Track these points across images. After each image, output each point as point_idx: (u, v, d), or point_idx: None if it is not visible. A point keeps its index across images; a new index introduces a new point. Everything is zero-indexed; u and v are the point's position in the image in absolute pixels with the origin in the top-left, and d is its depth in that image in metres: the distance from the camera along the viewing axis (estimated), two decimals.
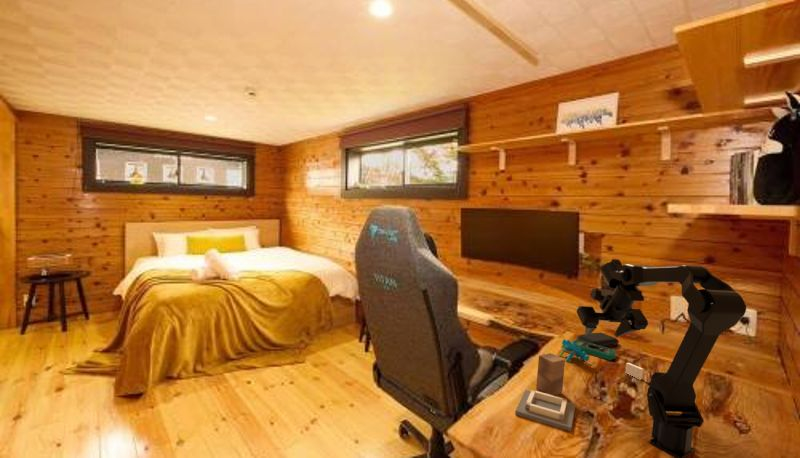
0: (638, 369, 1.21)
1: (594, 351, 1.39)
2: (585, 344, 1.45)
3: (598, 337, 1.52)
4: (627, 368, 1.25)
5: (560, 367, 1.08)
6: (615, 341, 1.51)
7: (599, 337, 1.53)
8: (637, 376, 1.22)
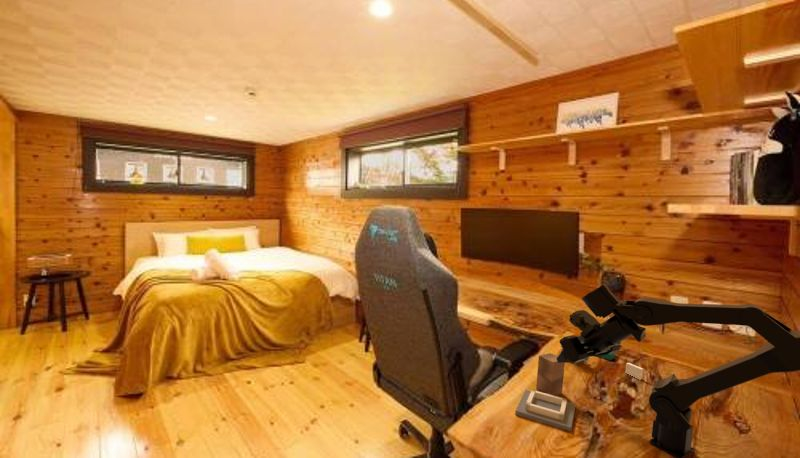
0: (638, 369, 1.21)
1: None
2: None
3: None
4: (627, 368, 1.25)
5: (560, 367, 1.08)
6: None
7: None
8: (637, 376, 1.21)
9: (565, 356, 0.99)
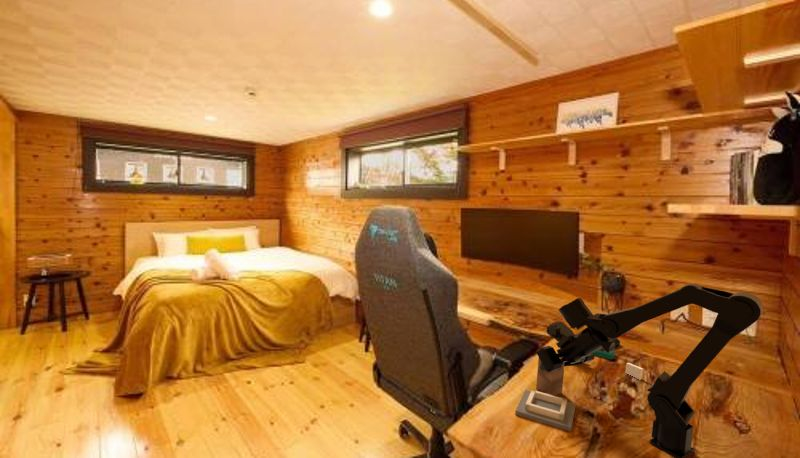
0: (638, 369, 1.21)
1: (595, 351, 1.39)
2: None
3: None
4: (627, 368, 1.24)
5: None
6: (617, 342, 1.51)
7: None
8: (637, 376, 1.21)
9: None
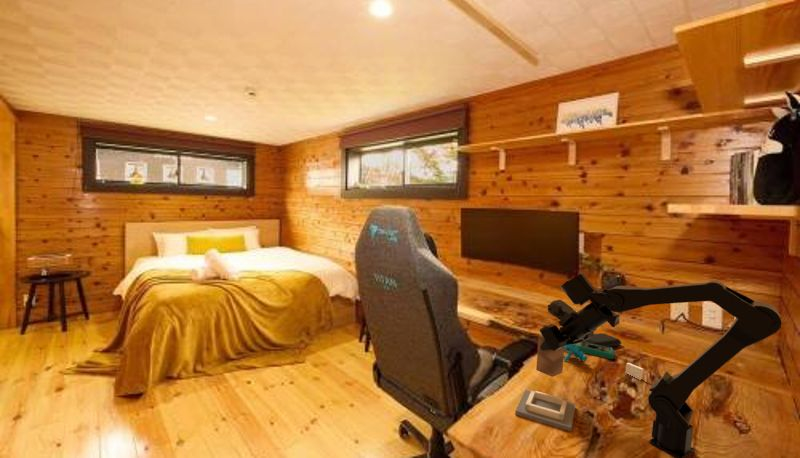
0: (638, 369, 1.21)
1: (596, 351, 1.39)
2: (584, 344, 1.45)
3: (600, 338, 1.52)
4: (627, 368, 1.24)
5: None
6: (617, 342, 1.50)
7: (601, 337, 1.52)
8: (637, 376, 1.21)
9: None
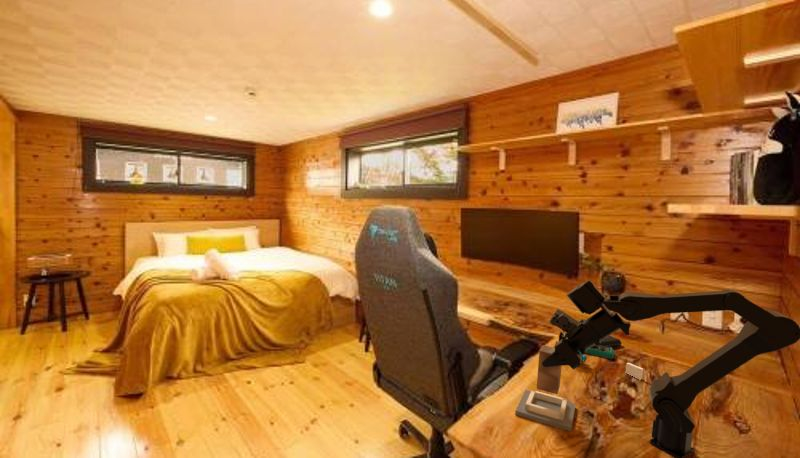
0: (638, 369, 1.21)
1: (596, 351, 1.39)
2: None
3: None
4: (627, 368, 1.24)
5: None
6: (618, 342, 1.50)
7: None
8: (637, 376, 1.21)
9: (555, 359, 0.94)
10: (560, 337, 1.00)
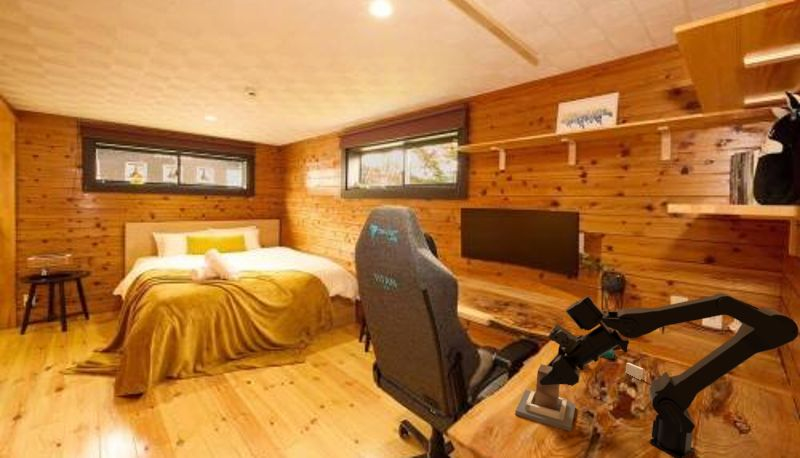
0: (638, 369, 1.21)
1: None
2: None
3: None
4: (627, 368, 1.24)
5: None
6: None
7: None
8: (637, 376, 1.21)
9: (553, 378, 0.92)
10: (559, 350, 1.02)
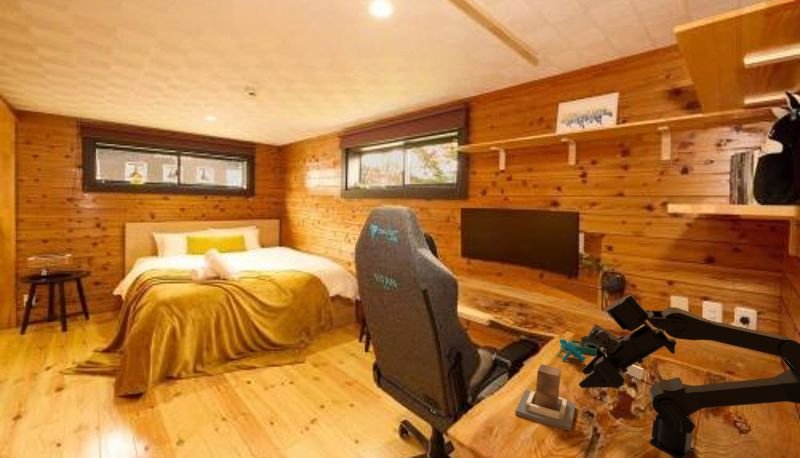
0: (638, 369, 1.21)
1: None
2: (583, 344, 1.44)
3: None
4: None
5: (559, 379, 0.98)
6: None
7: None
8: (637, 376, 1.21)
9: (594, 380, 0.88)
10: (598, 351, 0.97)
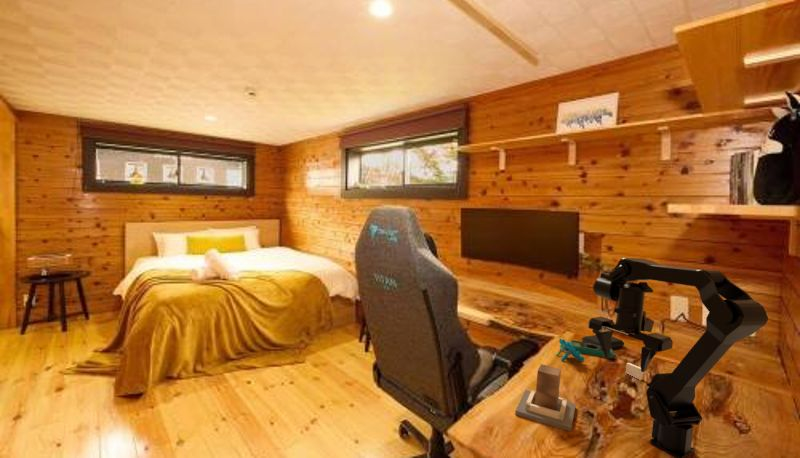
0: (638, 369, 1.21)
1: (596, 351, 1.39)
2: (583, 345, 1.44)
3: None
4: (627, 368, 1.24)
5: (559, 379, 0.98)
6: (621, 343, 1.49)
7: None
8: (637, 376, 1.21)
9: None
10: None
